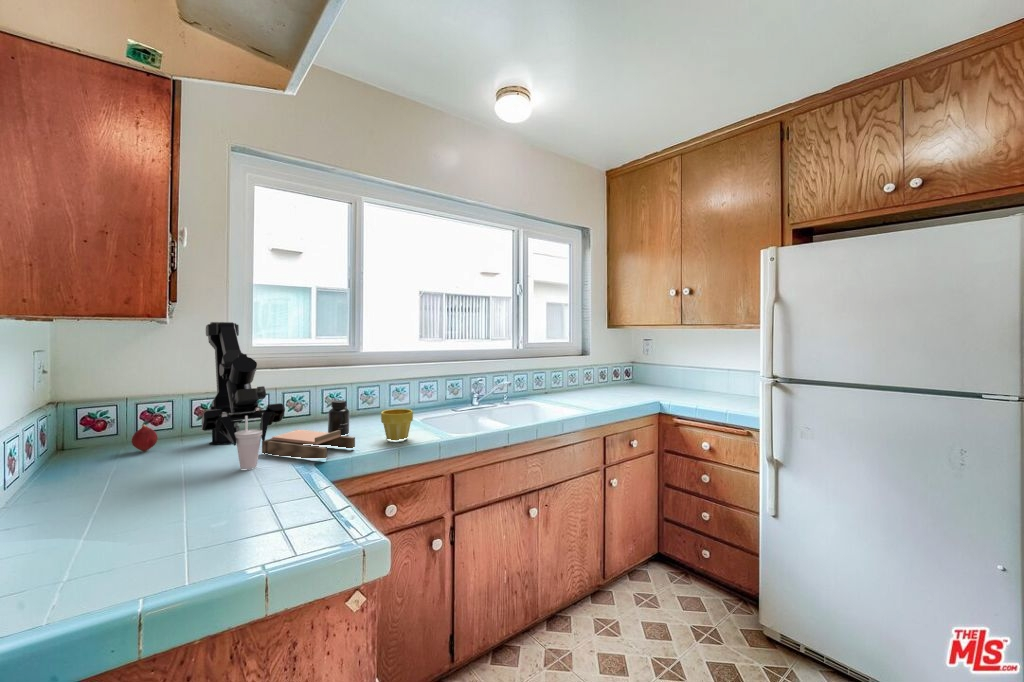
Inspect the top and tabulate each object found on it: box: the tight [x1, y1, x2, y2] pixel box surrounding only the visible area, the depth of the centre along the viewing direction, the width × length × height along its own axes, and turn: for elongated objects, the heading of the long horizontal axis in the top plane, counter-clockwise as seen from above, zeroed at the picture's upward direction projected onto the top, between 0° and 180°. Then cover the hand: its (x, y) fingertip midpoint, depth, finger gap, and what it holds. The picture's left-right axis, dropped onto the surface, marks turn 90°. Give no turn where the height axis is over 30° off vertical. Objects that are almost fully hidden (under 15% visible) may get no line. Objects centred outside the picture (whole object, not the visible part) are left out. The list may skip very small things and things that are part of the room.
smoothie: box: [234, 416, 262, 470], centre depth 113 cm, size 6×6×14 cm
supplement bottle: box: [327, 400, 350, 435], centre depth 148 cm, size 7×7×12 cm
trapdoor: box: [271, 429, 341, 445], centre depth 128 cm, size 16×10×5 cm, turn 72°
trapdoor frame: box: [261, 435, 356, 458], centre depth 128 cm, size 22×13×4 cm, turn 72°
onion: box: [131, 424, 159, 453], centre depth 126 cm, size 6×6×8 cm
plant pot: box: [380, 408, 414, 440], centre depth 143 cm, size 10×10×10 cm
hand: (249, 442), depth 112 cm, fingers closed on smoothie, 6 cm apart
